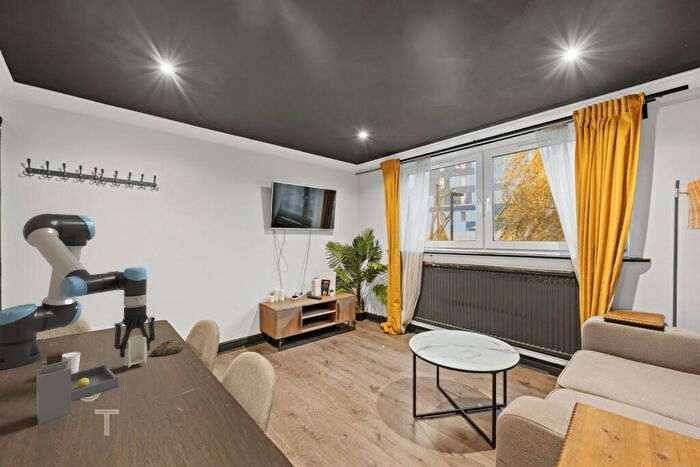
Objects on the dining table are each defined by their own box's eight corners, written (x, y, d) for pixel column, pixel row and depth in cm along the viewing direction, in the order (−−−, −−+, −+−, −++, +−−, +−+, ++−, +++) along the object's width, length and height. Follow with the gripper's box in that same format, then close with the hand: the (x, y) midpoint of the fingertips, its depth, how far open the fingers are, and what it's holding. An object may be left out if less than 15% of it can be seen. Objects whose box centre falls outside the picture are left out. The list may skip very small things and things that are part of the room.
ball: (74, 384, 103) (76, 378, 102) (86, 380, 106) (88, 374, 104) (77, 391, 102) (79, 385, 100) (89, 387, 104) (91, 381, 103)
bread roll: (180, 354, 134) (180, 343, 134) (148, 358, 130) (148, 347, 130) (185, 344, 146) (185, 334, 146) (155, 348, 141) (155, 338, 142)
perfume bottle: (67, 405, 93) (67, 348, 93) (71, 413, 89) (71, 353, 89) (36, 415, 88) (36, 354, 88) (38, 424, 84) (39, 360, 84)
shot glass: (65, 377, 112) (65, 359, 112) (51, 375, 113) (51, 357, 113) (85, 369, 118) (85, 352, 119) (71, 368, 120) (71, 350, 120)
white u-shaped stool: (124, 363, 121) (124, 338, 121) (141, 358, 125) (141, 334, 125) (128, 367, 117) (128, 342, 117) (146, 362, 122) (146, 337, 122)
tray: (48, 388, 104) (48, 380, 104) (104, 372, 116) (104, 364, 116) (56, 406, 93) (56, 396, 93) (118, 386, 105) (118, 378, 105)
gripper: (108, 311, 112) (108, 372, 111) (164, 302, 127) (164, 356, 126) (103, 308, 116) (103, 367, 116) (158, 300, 131) (157, 352, 131)
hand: (135, 361), depth 121 cm, fingers closed on white u-shaped stool, 6 cm apart
